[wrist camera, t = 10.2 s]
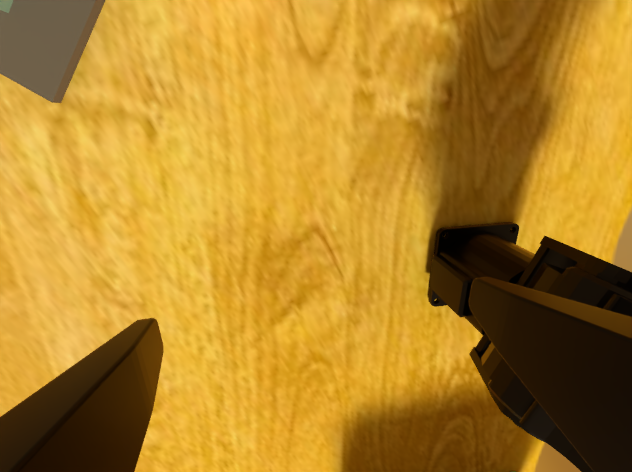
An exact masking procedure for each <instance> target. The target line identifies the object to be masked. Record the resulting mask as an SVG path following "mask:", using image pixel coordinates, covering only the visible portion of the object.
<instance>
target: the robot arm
mask: <svg viewBox="0 0 632 472" xmlns="http://www.w3.org/2000/svg"><path fill="white" fill-rule="evenodd" d="M511 228H512V230H511V231H510V229H511ZM518 231H519V226H518V225H517V224H515V223H513V222H505V223H493V224H481V225H469V226H456V227H444V228H441V229H439V230H438V232H437V234H436V242H435V250H434V256H433V258H432V264H431V272H430V280H429V287H430V291H429V302H430V303H431V305H432V306H444V305H448V306H449V307H450V308H451V309H452V310H453V311H454V312H455V313H456V314H457V315H458V316H459V317H465V318H466V319H467V320H468V321H469V322H470V323H471V324H472V325H473V326H474V327H475V328H476V329H477V330H478V331H479V332H480V333H481V334H482V335H483V337H482V338H481V340H480V341H479V343H478V345H477V346H476V347H474V348H473V349H472V351H471V352H470V356H471V358H472V360H473V362H474V364H475V365H476V367H477V369H478V371H479V373H480V375H481V377H482V379H483V381H484V382H485V384H486V386H487V388H488V390H489V392H490V394H491V396H492V398H493V399H494V401H495V402H496V404H497V405H498V407H499V409H500V411H501V412H502V413H503V414H504V415H506V416H507V417H509V418H510V419H511V420H512V421H513V422H514V423H515V424H516V425H517V426H519V427H521V428H522V429H523V430H525V431H526V432H528V433H529V434H531V435H532V436H534V437H536V438H537V439H539V440H541V441H543V442H546V443H548V444H549V445H550V446H552V447H553V448H554V449H556V450H557V451H558V452H560V453H561V454H562V455H563V456H565V457H566V458H567V459H568V460H569V461H570V462H572V463H573V464H574V465H575V466H576V467H577V468H578V469H579V470H580V471H581V472H632V272H630V271H627V270H625V269H622V268H620V267H617V266H615V265H613V264H611V263H608V262H606V261H604V260H601V259H599V258H596V257H594V256H592V255H589V254H587V253H585V252H582V251H580V250H577V249H575V248H573V247H570V246H568V245H566V244H563V243H561V242H559V241H556V240H554V239H551V238H549V237H547V236H544V238H543V239H542V241H541V242H540V244H541V246H540V247H539V249H538V251H537V252H536V254H533V253H531V252H529V251H527V250H525V249H523V248H521V247H519V246H518V245H516V241H517V236H518ZM444 233H446V235H445V236H444V237H442V236H443V234H444ZM436 298H437V300H436V301H434V300H435V299H436ZM162 357H163V342H162V338H161V334H160V330H159V326H158V322H157V320H156V319H154V318H149V319H141V320H137V321H136V322H134V323H133V324H131V325H130V326H129V327H127V328H126V329H124V330H123V331H122V332H120V333H119V334H117V335H116V336H114V337H113V338H112V339H110V340H109V341H107V342H106V343H105V344H103V345H102V346H100V347H99V348H97V349H96V350H95V351H93V352H92V353H90V354H89V355H88V356H86V357H85V358H83V359H82V360H80V361H79V362H78V363H76V364H75V365H73V366H72V367H70V368H69V369H68V370H66V371H65V372H63V373H62V374H61V375H59V376H58V377H56V378H55V379H53V380H52V381H51V382H49V383H48V384H46V385H45V386H44V387H42V388H41V389H39V390H38V391H36V392H35V393H34V394H32V395H31V396H29V397H28V398H27V399H25V400H24V401H22V402H21V403H19V404H18V405H17V406H15V407H14V408H12V409H11V410H9V411H8V412H7V413H5V414H4V415H2V416H1V417H0V472H134V471H135V468H136V464H137V461H138V458H139V455H140V451H141V448H142V445H143V441H144V438H145V435H146V431H147V428H148V425H149V421H150V418H151V414H152V411H153V406H154V401H155V396H156V390H157V384H158V379H159V373H160V368H161V362H162Z"/></svg>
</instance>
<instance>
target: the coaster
mask: <svg viewBox="0 0 632 472" xmlns="http://www.w3.org/2000/svg"><path fill="white" fill-rule="evenodd" d="M104 2H105V0H13V3H12V5H11V8H10V11H9V13H7V12H4V11H2V10H0V74H2V75H4V76H6V77H8V78H9V79H11V80H13V81H15V82H17V83H18V84H20V85H22V86H24V87H26V88H27V89H29V90H31V91H33V92H34V93H36V94H38V95H40V96H42V97H43V98H45V99H47V100H49V101H51V102H55V103H61V101H62V99H63V97H64V94H65V92H66V90H67V87H68V85H69V83H70V81H71V78H72V76H73V74H74V71H75V69H76V67H77V64H78V62H79V60H80V57H81V55H82V53H83V51H84V48H85V46H86V44H87V41H88V39H89V37H90V34H91V32H92V30H93V27H94V25H95V23H96V21H97V18H98V16H99V14H100V11H101V9H102V7H103V4H104Z"/></svg>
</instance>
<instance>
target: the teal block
mask: <svg viewBox="0 0 632 472" xmlns="http://www.w3.org/2000/svg"><path fill="white" fill-rule="evenodd" d="M12 3H13V0H0V10H2V11H4V12H7V13H9V11H10V8H11V5H12Z"/></svg>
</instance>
